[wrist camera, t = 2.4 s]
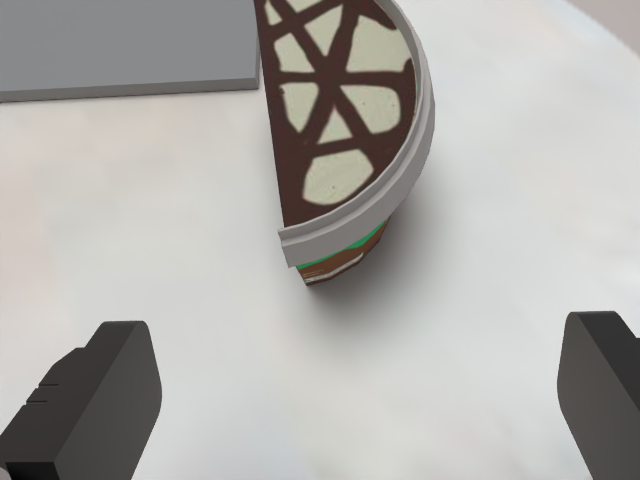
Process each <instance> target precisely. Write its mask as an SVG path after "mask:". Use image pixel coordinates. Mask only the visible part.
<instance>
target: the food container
mask: <svg viewBox="0 0 640 480" xmlns="http://www.w3.org/2000/svg"><path fill="white" fill-rule="evenodd" d="M253 3H254V7H255V14H256V22H257V30H258V37H259V44H260V51H261V59H262V68H263V76H264V84H265V91H266V98H267V105H268V114H269V118H270V126H271V134H272V142H273V150H274V157H275V165H276V172H277V180H278V187H279V194H280V202H281V208H282V215H283V221H284V228H282V229H278V234H279V236H280V239H281V244H282V249H283V252H284V255H285V258H286V261H287V264H288V267H293V266H296V268H297V270H298V271H299V273H300V275H301V277H302V279H303V280H304V282H305V284H306V286H307V285H311V284H315V283H319V282H323V281H327V280H330V279H332V278H334V277H336V276H337V275H339V274H341V273H343V272H344V271H346V270H348V269H350V268H352V267H353V266H355V265H357V264H358V263H359V262H360V261H361V260H362V259H363V258H364V257H365V256H366V255H367V254H368V253H369V251H370V250H371V249H372V248H373V247H374V246H375V245H376V244H377V243H378V242H379V240H380V238H381V236H382V233H383V231H384V229H385V227H386V224H387V222H388V220H389V218H390V216H391V214H392V213H393V211H394V210H395V209H396V208H397V207H398V206H399V205H400V203H401V202H402V201H403V200H404V199H405V198H406V196H407V195H408V193H409V192H410V190H411V188H412V187H413V185H414V184H415V182H416V180H417V179H418V177H419V176H420V174H421V171H422V169H423V166H424V164H425V161H426V159H427V156H428V154H429V151H430V146H431V142H432V137H433V132H434V125H435V101H434V95H433V89H432V83H431V77H430V72H429V67H428V62H427V58H426V56H425V53H424V50H423V47H422V44H421V41H420V39H419V37H418V35H417V34H416V32H415V30H414V28H413V27H412V25H411V23H410V21H409V20H408V19H407V17H406V16H405V14H404V12H403V10H402V9H401V8H400V7H399V5H398V4H397V3H396V2H395V1H394V0H253Z"/></svg>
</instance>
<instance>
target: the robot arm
mask: <svg viewBox="0 0 640 480" xmlns="http://www.w3.org/2000/svg"><path fill="white" fill-rule="evenodd" d="M557 392H558V399H559V404H560V408H561V411H562V413H563V416H564V418H565V420H566V422H567V424H568V426H569V429H570V431H571V433H572V435H573V437H574V439H575V441H576V444H577V446H578V448H579V450H580V452H581V454H582V456H583V459H584V461H585V463H586V465H587V467H588V469H589V471H590V474H591V476H592V478H593V480H640V338H636V337H635V335H634V334H633V333H632V332H631V330H630V329H629V328H628V326H627V325H626V324H625V322H624V321H623V320H622V318H621V317H620V316H619V315H618V313H616V312H615V311H587V312H571V313H569V315H568V316H567V319H566V323H565V330H564V337H563V344H562V350H561V357H560V364H559V371H558V378H557ZM161 401H162V387H161V381H160V376H159V372H158V367H157V363H156V359H155V354H154V350H153V345H152V341H151V336H150V332H149V329H148V326H147V324H146V323H145V322H144V321H106V322H103V323H102V324H101V325H100V326H99V328H98V329H97V331H96V332H95V333H94V335H93V336H92V338H91V339H90V341H89V342H88V343H87V345H86V346H85V348H75V349H74V350H73V351H71V352H70V353H68V354H67V355H66V356H64V357H63V358H62V359H60V360H59V361H58V362H56V363H55V364H54V365H53V366H52V367H51V368H50V370H49V371H48V372H47V374H46V375H45V377H44V378H43V379H42V381H41V382H40V383H39V387H38V388H36V389H35V390H34V391H33V393H32V394H31V395H30V397H29V398H28V399H27V401H26V405H23V406H22V407H21V409H20V410H19V411H18V413H17V414H16V415H15V417H14V418H13V419H12V421H11V422H10V423H9V425H8V426H7V427H6V429H5V430H4V431H3V433H2V434H1V435H0V480H131V478H132V476H133V474H134V471H135V469H136V467H137V464H138V462H139V460H140V458H141V455H142V453H143V451H144V448H145V446H146V444H147V441H148V439H149V437H150V434H151V432H152V430H153V427H154V425H155V423H156V420H157V418H158V415H159V412H160V408H161Z"/></svg>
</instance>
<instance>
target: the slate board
mask: <svg viewBox="0 0 640 480" xmlns="http://www.w3.org/2000/svg"><path fill="white" fill-rule="evenodd" d="M259 55H260V44H259V37H258V30H257V22H256V14H255V7H254V3H253V0H0V102H13V101H32V100H51V99H71V98H90V97H109V96H128V95H147V94H166V93H186V92H205V91H224V90H243V89H258V85H259Z"/></svg>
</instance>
